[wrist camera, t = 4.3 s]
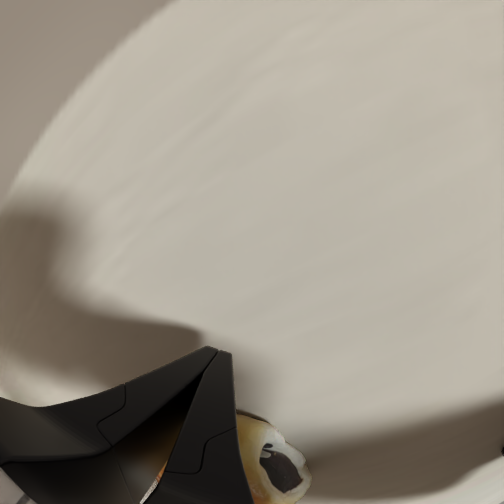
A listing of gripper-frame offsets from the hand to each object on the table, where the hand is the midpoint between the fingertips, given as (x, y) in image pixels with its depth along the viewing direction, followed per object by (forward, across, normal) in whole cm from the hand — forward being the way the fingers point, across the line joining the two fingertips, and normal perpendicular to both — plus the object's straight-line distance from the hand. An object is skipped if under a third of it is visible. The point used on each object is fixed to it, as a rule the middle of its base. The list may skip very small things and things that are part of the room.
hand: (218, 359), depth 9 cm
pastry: (+2, -1, +8) cm, 8 cm away
